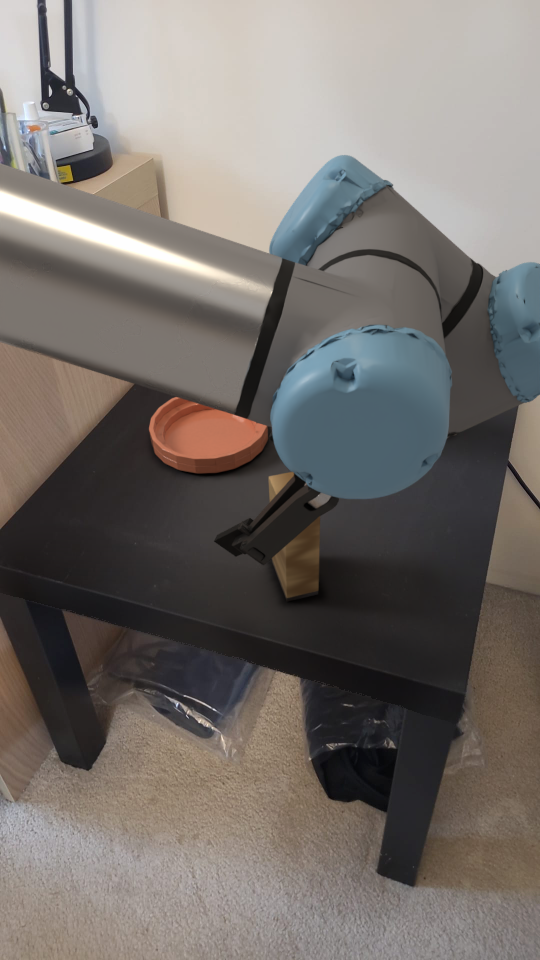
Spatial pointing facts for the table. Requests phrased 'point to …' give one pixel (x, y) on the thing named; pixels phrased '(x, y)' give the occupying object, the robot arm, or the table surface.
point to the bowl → (204, 437)
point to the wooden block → (297, 554)
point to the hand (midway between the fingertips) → (254, 491)
